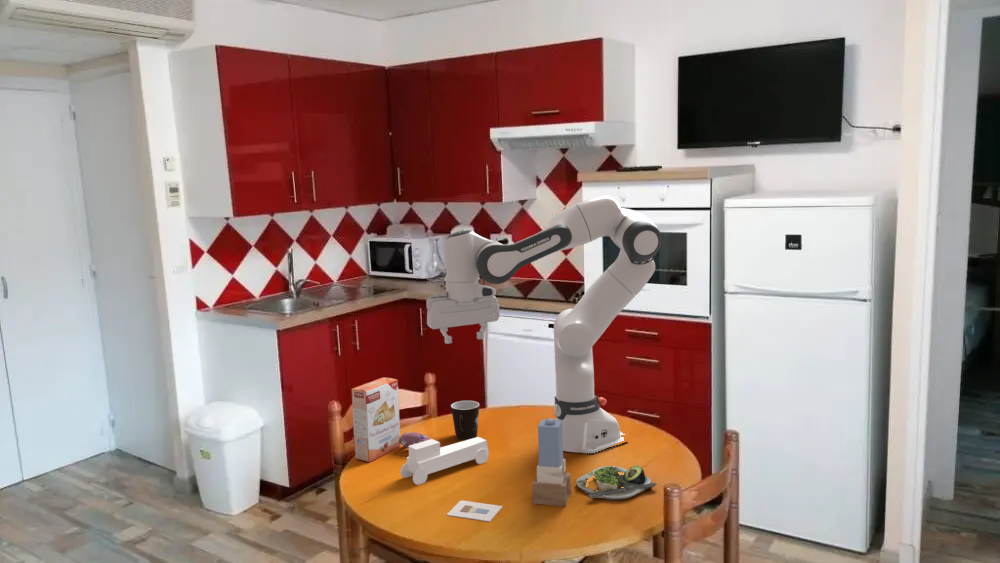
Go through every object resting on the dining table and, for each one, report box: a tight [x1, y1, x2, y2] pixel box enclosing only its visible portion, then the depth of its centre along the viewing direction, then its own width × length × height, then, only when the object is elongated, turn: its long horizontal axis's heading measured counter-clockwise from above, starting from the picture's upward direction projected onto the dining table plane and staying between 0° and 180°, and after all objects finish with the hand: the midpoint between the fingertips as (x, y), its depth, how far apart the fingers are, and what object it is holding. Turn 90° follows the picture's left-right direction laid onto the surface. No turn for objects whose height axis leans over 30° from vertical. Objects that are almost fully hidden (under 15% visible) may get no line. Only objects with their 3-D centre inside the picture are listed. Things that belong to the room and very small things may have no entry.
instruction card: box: [446, 500, 503, 523], centre depth 178 cm, size 8×11×1 cm
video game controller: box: [399, 431, 431, 450], centre depth 218 cm, size 10×5×7 cm, turn 69°
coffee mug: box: [450, 400, 480, 441], centre depth 226 cm, size 12×9×10 cm
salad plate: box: [575, 465, 658, 500], centre depth 188 cm, size 19×18×5 cm
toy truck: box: [400, 436, 490, 486], centre depth 203 cm, size 25×7×9 cm, turn 129°
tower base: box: [531, 458, 572, 507], centre depth 183 cm, size 8×8×9 cm
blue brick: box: [537, 417, 564, 467], centre depth 182 cm, size 5×5×11 cm
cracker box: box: [351, 376, 401, 463], centre depth 216 cm, size 14×6×21 cm, turn 148°
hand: (464, 341), depth 204 cm, fingers open, 8 cm apart
